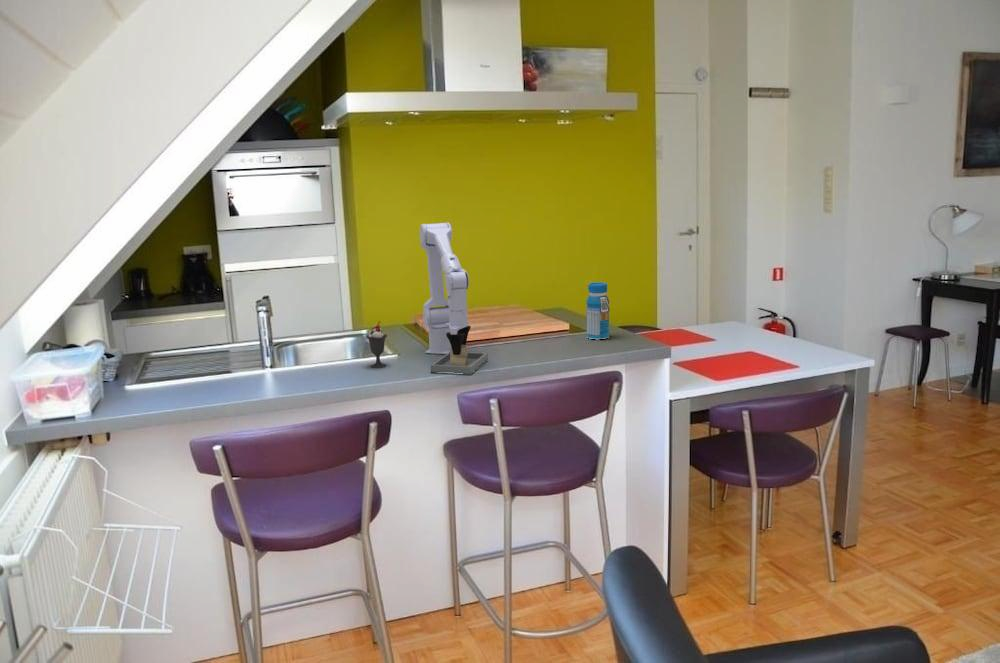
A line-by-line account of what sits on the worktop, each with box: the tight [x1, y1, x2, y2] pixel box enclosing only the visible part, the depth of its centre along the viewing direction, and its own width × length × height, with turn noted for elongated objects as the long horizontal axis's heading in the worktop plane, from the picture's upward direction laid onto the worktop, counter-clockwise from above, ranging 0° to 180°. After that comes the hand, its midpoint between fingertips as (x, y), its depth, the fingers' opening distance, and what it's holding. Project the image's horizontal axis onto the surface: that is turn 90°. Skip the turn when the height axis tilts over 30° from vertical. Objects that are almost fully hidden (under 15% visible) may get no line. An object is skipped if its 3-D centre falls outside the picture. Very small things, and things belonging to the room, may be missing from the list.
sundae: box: [365, 321, 388, 369], centre depth 252 cm, size 7×7×15 cm
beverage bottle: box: [585, 281, 611, 340], centre depth 282 cm, size 8×8×20 cm
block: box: [450, 344, 468, 366], centre depth 249 cm, size 4×4×6 cm
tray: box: [430, 351, 489, 376], centre depth 250 cm, size 18×13×2 cm
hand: (459, 351), depth 249 cm, fingers open, 7 cm apart
